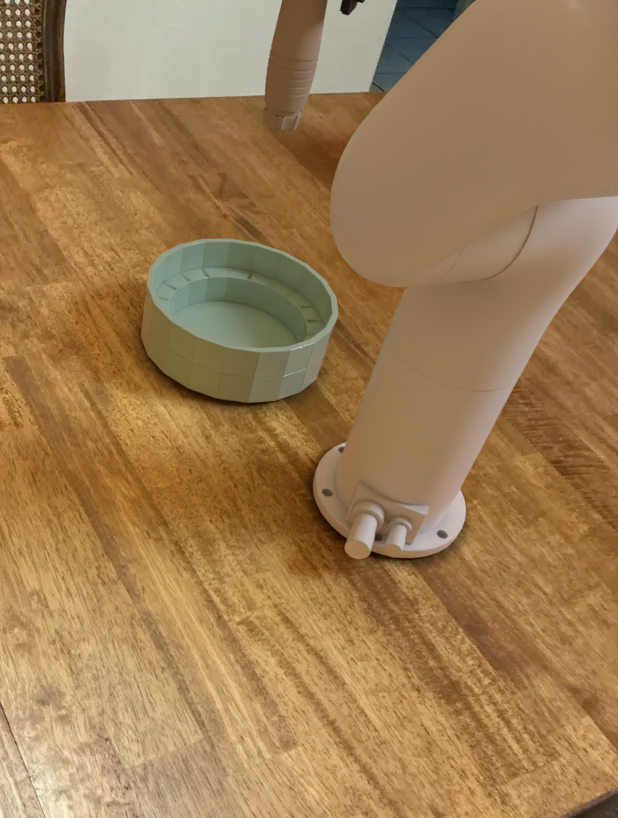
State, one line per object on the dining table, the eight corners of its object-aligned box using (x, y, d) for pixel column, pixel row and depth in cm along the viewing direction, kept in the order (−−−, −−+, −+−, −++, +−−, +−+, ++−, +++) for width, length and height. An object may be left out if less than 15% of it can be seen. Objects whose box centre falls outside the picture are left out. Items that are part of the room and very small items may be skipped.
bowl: (293, 430, 76) (310, 376, 72) (111, 365, 78) (116, 308, 73) (340, 328, 87) (356, 275, 83) (179, 273, 89) (187, 219, 85)
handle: (311, 145, 74) (359, -63, 63) (238, 126, 74) (273, -84, 64) (320, 123, 77) (366, -77, 66) (250, 106, 78) (285, -97, 67)
